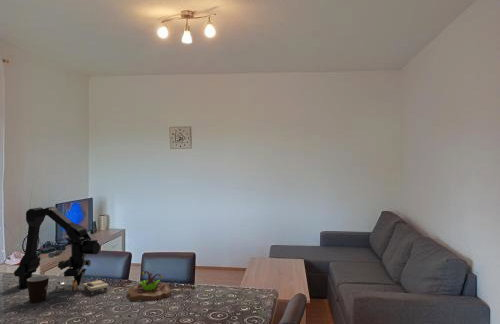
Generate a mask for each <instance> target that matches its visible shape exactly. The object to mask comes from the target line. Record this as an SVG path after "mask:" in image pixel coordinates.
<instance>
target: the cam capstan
mask: <svg viewBox="0 0 500 324" xmlns="http://www.w3.org/2000/svg"><path fill="white" fill-rule="evenodd" d="M77 289H78V286H77V280H75V279H72V283H68V282H67V281H66V280H60V281H59V280H58V281H55V282H53V283H52V292H53V293H62V292H65V291H70V290H77Z"/></svg>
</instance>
